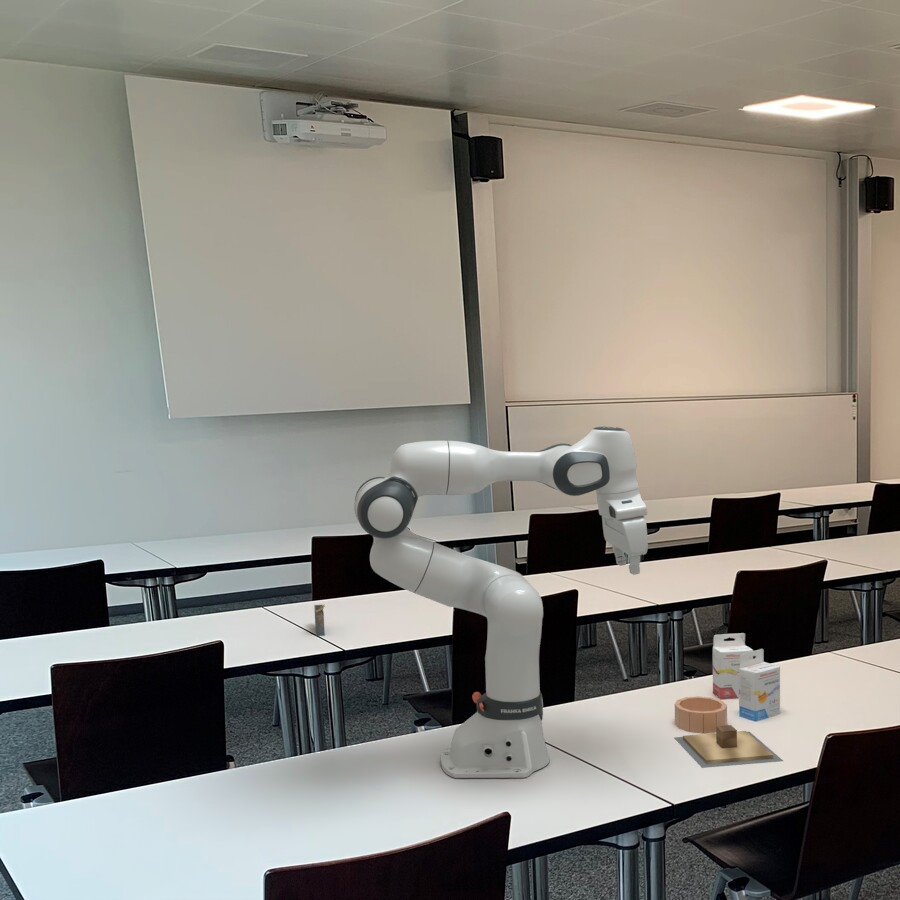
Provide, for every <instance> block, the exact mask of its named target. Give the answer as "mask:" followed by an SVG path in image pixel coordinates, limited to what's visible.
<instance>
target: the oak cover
mask: <svg viewBox="0 0 900 900" xmlns="http://www.w3.org/2000/svg"><path fill="white" fill-rule="evenodd" d="M747 732H748V731H747V730H741V731H740V730H739V731H737V728H735V727H734V726H733V725H731V724H727V725H725V726H716V733H705V734H704V733H703V734H702V733H698V734H691V735H690V734H689V735H682V737H683V740H684V741H685V742H686V743H687V744H688V745H689V746H690V747H691V749H692V750H693V751H694V752H695V753H696V754H697V755H698V756H699V757H700V758H701V759H702V760H703V761H704V762H705V763H706V764H715V763H727V762H739V761H751V760H764V759H773V754H772V753H771V752H769V751H768V750H767V749H766V748H765V747H764V746H762V745H761V744H760V743H759V742H758V741H757V740H755V739H754V738H753V737H752V736H751V735H750V734H749V733H747Z"/></svg>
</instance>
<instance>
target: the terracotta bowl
mask: <svg viewBox="0 0 900 900" xmlns="http://www.w3.org/2000/svg"><path fill="white" fill-rule="evenodd" d="M674 725H675V726H676V727H677V728H678V729H679V730H682V731H685V732H688V733H694V734H712V733H716V726H725V725H728V704H727V703H726V702H724V701H723V700H722V699H718V698H714V697H712V696H711V697H709V696H698V695H696V696H685V697H682V698H679V699H677V700H676V701H675V703H674Z"/></svg>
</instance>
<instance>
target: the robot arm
mask: <svg viewBox="0 0 900 900" xmlns="http://www.w3.org/2000/svg"><path fill="white" fill-rule="evenodd" d="M390 461H391V462H390V469H389V472H388V474H387V475H386V476H377V477H373V478H370V479H368V480H366V481H365V482H363V483H362V485H360V486H359V488H358V490H357V492H356V494H355V496H354V497H355V498H354V514H355V517H356V520H357V521H358V522H359V525H360V526H361V528H362V529H363V531H364V532H366V533H367V534H369V535H370V536H372V538H373V542H372V545H371V548H370V553H369V562H370V567H371V569H372V570H373V572H374V573H375V574H377V575H378V576H380V577H381V578H383V579H385V580H386V581H388V582H390V583H392V584H394V585H395V586H397V587H399V588H401V589H404V590H406V591H408V592H411V593H413V594H416V595H418V596H420V597H424V599H425V598H426V599H429V600H431V601H434V602H436V603H438V604H441V605H444V606H446V607H449V608H456V609H460V610H464V611H468V612H471V613H475V614H478V615H481V616H483V617H485V618H486V619H487V636H486V637H487V640H486V650H485V656H484V661H485V664H484V667H485V691H486V692H484V693H483V694H481V692H480V691H475V692H473V694H472V697H471V698H472V700H473V702H474V703H475V704H476V711H475V713H474V714H473V715H471V717H469V718H468V719H466V721H463V723H462V724H460V725H458V727H456V728H455V729H454V733H453V735H452V738H451V744H450V748H448V749H446V750H443V751H442V753H441V755H440V766H441V768H442V771H444V773H445V774H446V775H448V776H450V777H452V778H455V779H486V778H487V779H499V778H502V779H505V778H506V779H511V778H513V779H515V778H517V779H519V778H520V779H525V778H528V777H529V776H531V775H532V774H533V773H534V772H537V771H538V770H541V769H543V768H545V767H547V765H548V764H549V762H550V760H551V759H550V756H549V752H548V749H547V745H546V739H545V736H544V731H543V722H542V721H543V715H544V702H543V694H542V692H541V690H540V688H541V687H540V685H541V684H540V649H541V648H540V647H541V646H540V645H541V641H542V640H541V639H542V626H543V618H544V606H543V605H544V604H543V600H542V597H541V595H540V593H539V592H538V590H537V589H536V588H535V587H534V586H533V585H532V583H530V582H529V581H528V580H527V579H526V578H525V577H524V576H523V574H521V573H520V572H518V571H516V570H513V569H510V568H508V567H504V566H502V565H499V564H496V563H493V562H490V561H486V560H483V559H481V558H477V557H473V556H470V555H469V554H468V555H467V554H465V553H462V552H460V551H457V550H455V549H452V548H449V547H448V546H445V545H442V544H440V543H437V542H435V541H433V540H430V539H427V538H425V537H422V536H420V535H417V534H416V533H414V532H413V531H412V530H410V528H409V525H410V523H411V520H412V518H413V515H414V511H415V508H416V505H417V502H418V500H419V498H420V497H423V496H430V495H431V496H464V495H471V494H478V493H479V492H481V491H483V490H484V489H485V488H486V487H488V486H490V485H492V484H494V483H499V482H537V483H541V484H544V485H545V486H547V487H549V488H552V489H554V490H557V491H559V493H561V494H564V495H567V496H569V497H570V496H571V497H577V496H582V495H586V494H589V493H591V492H594V491H595V493H596V500H597V510H598V514H599V516H601V521H602V530H603V531H602V532H603V537H604V538H603V539H604V540H605V542H607V543H609V544H610V545H611V547H612V550H613V553H614V557H615V561H616V564H617V565H618V566H620V567H621V566H622V567H623V566H626V565H627V557H628V559H629V565H628V571H629V573H630V574H631V575H639V574H640V573H641V566H640V564H641V563H640V562H641V556H642V555H643V556H644V555H646V554H648V553H647V552H648V548H649V547H648V546H649V545H648V543H649V541H648V528H647V527H648V526H647V520H646V517H645V516H648V507H647V505H646V503H645V502H644V500H643V499H642V495H641V491H640V484H639V482H638V480H637V460H636V454H635V448H634V444H633V440H632V437H631V435H630V433H629V432H628V431H627V430H626V429H624V428H622V427H615V426H596V427H592V429H591V430H590V432H588V434H586V435H585V436H584V437H583V438H582V439H580V440H579V441H577V442H576V443H574V444H570V443H556V444H553V445H551V446H548V447H547V448H544V449H543V448H542V449H541V450H538V451H517V450H516V451H515V450H514V451H513V450H511V451H508V450H503V451H502V450H496V449H492V448H489V447H486V446H483V445H479V444H476V443H475V444H474V443H472V442H467V441H458V440H423V441H422V440H421V441H415V442H408V443H404V444H402V445H399V446H398V447H397V448H396V450H395V451H394V452H393V455H392V457H391V460H390ZM625 554H626V555H627V556H625Z"/></svg>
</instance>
